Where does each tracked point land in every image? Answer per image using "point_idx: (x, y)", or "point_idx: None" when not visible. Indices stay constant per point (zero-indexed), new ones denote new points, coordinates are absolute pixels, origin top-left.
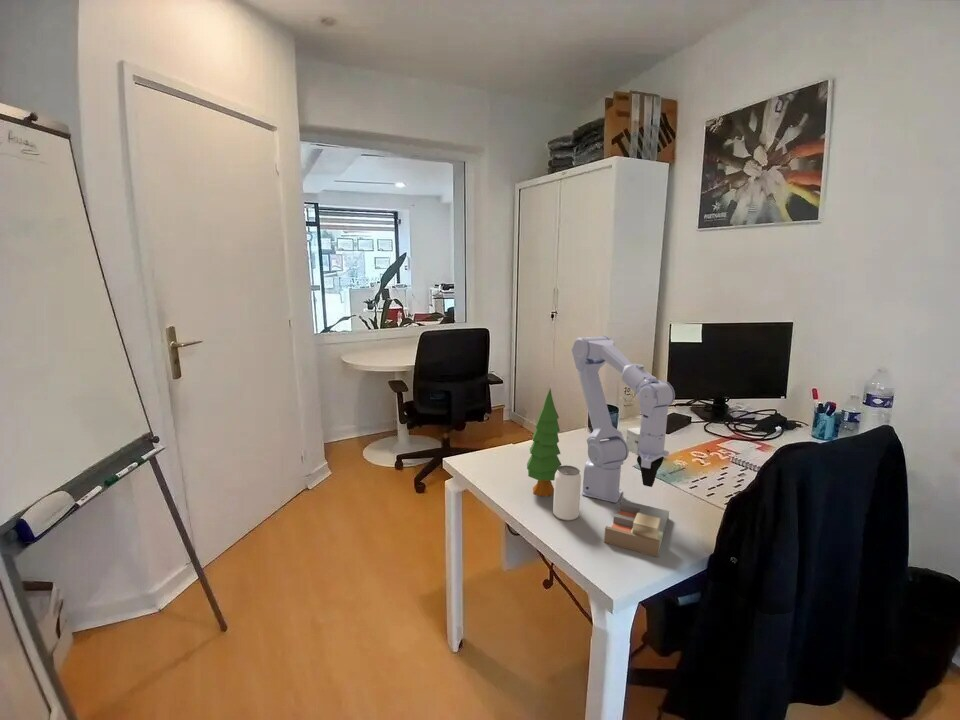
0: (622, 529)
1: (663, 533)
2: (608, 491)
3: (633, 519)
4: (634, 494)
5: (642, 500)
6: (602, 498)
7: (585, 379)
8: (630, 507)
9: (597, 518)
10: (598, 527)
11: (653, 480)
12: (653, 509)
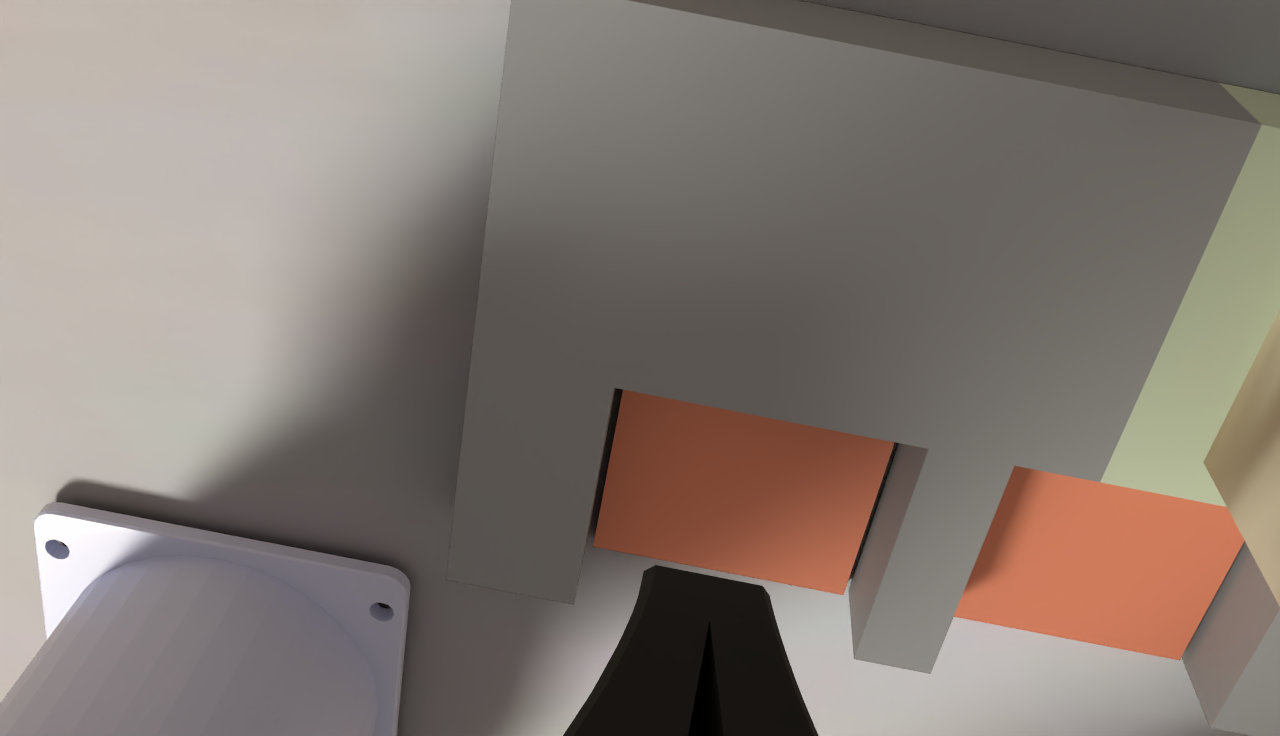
0: (1064, 534)
1: (1152, 84)
2: (339, 729)
3: (958, 480)
4: (32, 365)
5: (149, 276)
6: (395, 706)
7: None
8: (593, 487)
9: (840, 730)
10: (1036, 725)
11: (796, 700)
12: (560, 216)
